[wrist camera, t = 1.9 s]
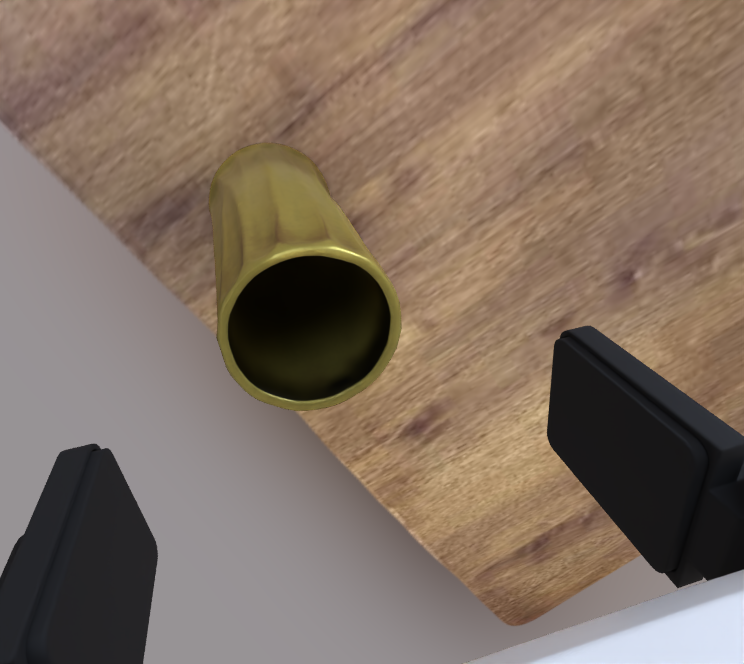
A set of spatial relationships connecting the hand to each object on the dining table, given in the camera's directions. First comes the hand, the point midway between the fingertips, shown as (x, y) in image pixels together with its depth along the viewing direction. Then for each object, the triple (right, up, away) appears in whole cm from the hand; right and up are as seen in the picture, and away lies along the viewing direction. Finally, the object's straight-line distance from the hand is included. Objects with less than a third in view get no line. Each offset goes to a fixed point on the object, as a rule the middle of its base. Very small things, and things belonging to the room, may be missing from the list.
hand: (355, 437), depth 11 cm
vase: (-5, +9, +16) cm, 19 cm away
